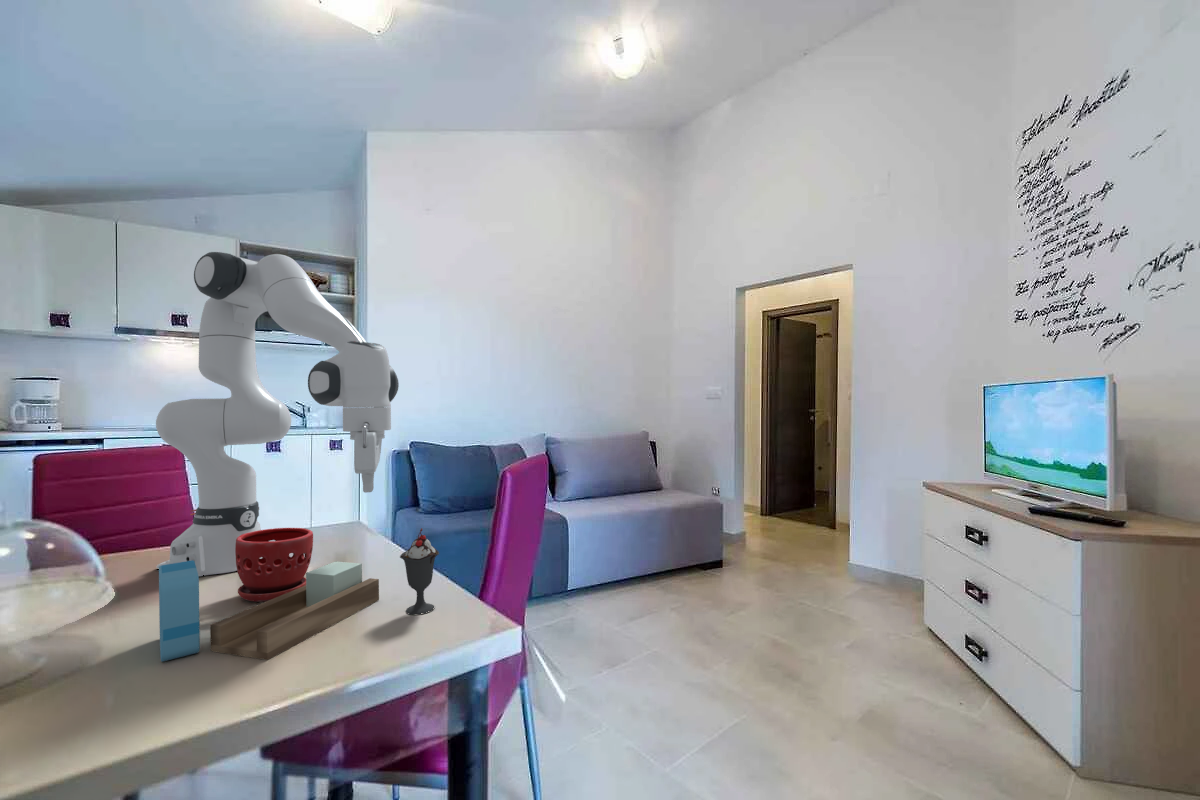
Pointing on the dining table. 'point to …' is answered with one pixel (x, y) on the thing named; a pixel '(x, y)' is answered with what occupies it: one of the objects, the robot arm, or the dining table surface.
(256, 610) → the chute
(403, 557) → the sundae
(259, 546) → the plant pot
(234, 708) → the dining table surface
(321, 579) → the block
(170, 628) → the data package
